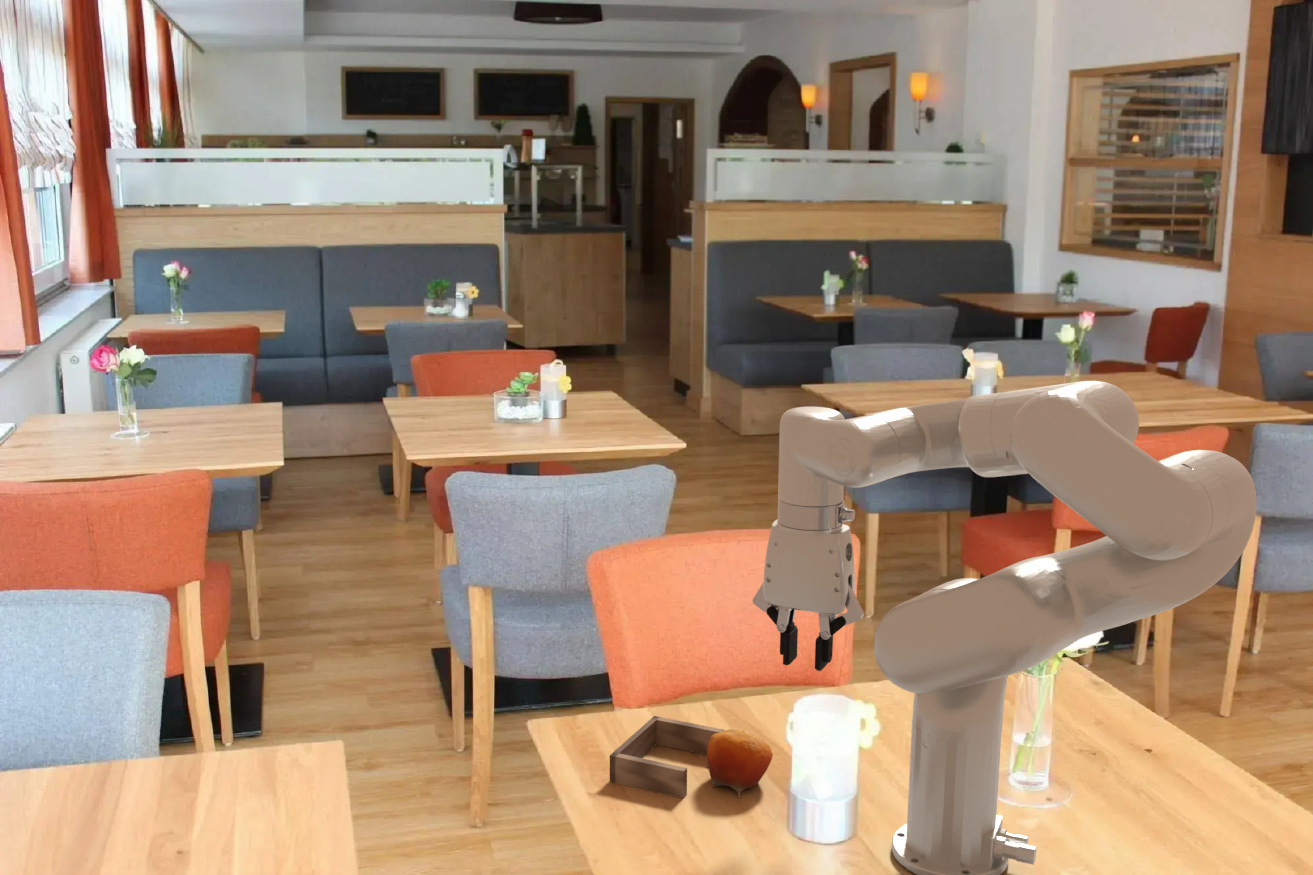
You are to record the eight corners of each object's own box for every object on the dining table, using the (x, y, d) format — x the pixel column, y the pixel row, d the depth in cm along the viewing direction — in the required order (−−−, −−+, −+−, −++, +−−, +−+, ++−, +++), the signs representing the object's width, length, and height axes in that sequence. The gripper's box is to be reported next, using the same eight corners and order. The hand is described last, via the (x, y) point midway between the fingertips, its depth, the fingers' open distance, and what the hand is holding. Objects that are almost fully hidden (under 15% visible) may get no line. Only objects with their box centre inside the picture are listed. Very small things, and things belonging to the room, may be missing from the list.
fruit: (687, 784, 156) (703, 719, 158) (711, 792, 163) (725, 729, 165) (748, 799, 152) (763, 732, 154) (770, 807, 159) (784, 742, 161)
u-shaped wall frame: (723, 754, 167) (724, 729, 166) (683, 798, 155) (683, 771, 155) (654, 740, 171) (654, 715, 170) (609, 781, 160) (609, 755, 159)
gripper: (888, 514, 149) (882, 664, 152) (754, 499, 155) (751, 643, 159) (870, 531, 142) (864, 687, 146) (731, 513, 149) (729, 663, 153)
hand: (805, 662), depth 152 cm, fingers open, 3 cm apart
